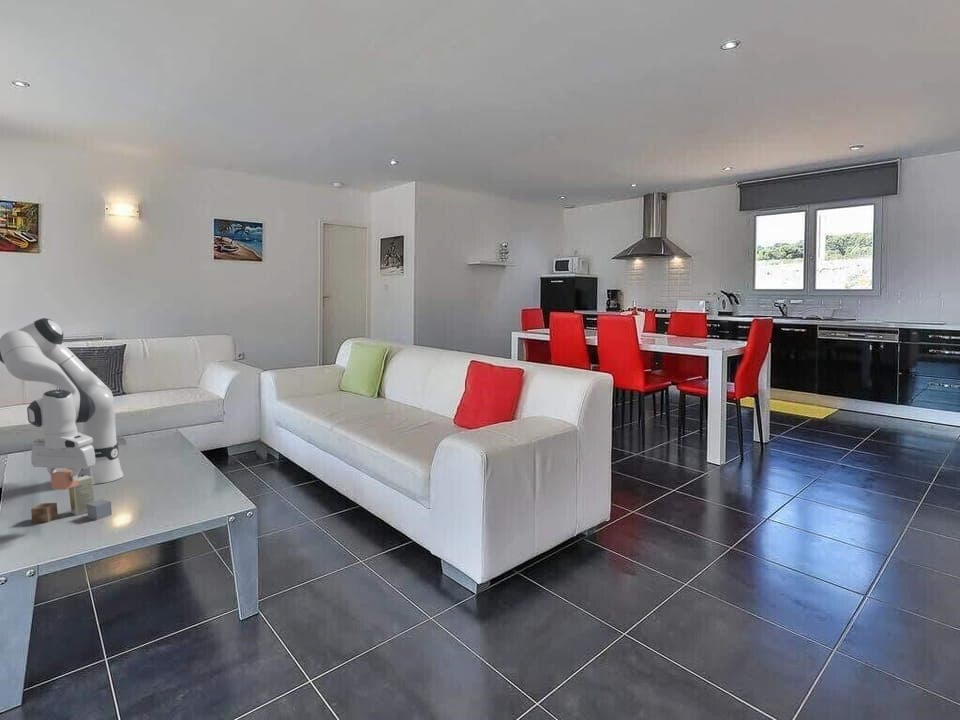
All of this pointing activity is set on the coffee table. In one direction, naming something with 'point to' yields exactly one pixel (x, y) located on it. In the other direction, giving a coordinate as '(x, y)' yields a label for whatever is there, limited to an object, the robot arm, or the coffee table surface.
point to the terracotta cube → (62, 479)
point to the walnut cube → (44, 512)
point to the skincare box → (81, 495)
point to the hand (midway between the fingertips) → (64, 480)
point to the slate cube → (99, 509)
